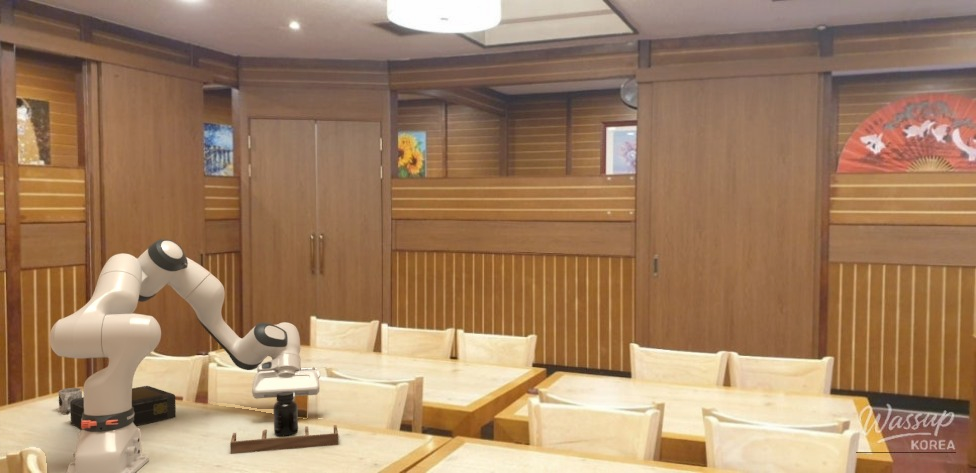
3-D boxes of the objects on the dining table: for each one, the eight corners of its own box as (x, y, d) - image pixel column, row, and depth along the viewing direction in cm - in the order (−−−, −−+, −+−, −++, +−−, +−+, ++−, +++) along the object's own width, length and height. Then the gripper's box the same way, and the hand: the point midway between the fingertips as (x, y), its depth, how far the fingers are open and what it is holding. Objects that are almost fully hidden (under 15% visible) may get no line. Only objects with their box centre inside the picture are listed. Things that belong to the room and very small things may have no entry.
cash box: (148, 407, 247) (147, 384, 247) (177, 418, 234) (177, 394, 234) (67, 423, 228) (67, 399, 228) (95, 436, 215) (94, 410, 215)
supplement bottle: (288, 428, 221) (288, 389, 221) (302, 433, 217) (302, 392, 216) (269, 434, 216) (268, 393, 215) (283, 438, 211) (282, 397, 211)
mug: (62, 408, 245) (61, 388, 245) (84, 406, 247) (83, 387, 247) (54, 416, 235) (53, 395, 235) (77, 414, 237) (76, 394, 237)
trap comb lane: (338, 444, 206) (338, 434, 206) (230, 453, 199) (230, 442, 199) (334, 425, 224) (334, 416, 224) (235, 433, 217) (235, 423, 216)
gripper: (319, 372, 239) (320, 410, 230) (253, 376, 234) (252, 415, 225) (319, 361, 235) (321, 399, 225) (252, 365, 229) (251, 404, 220)
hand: (286, 407), depth 225 cm, fingers closed
